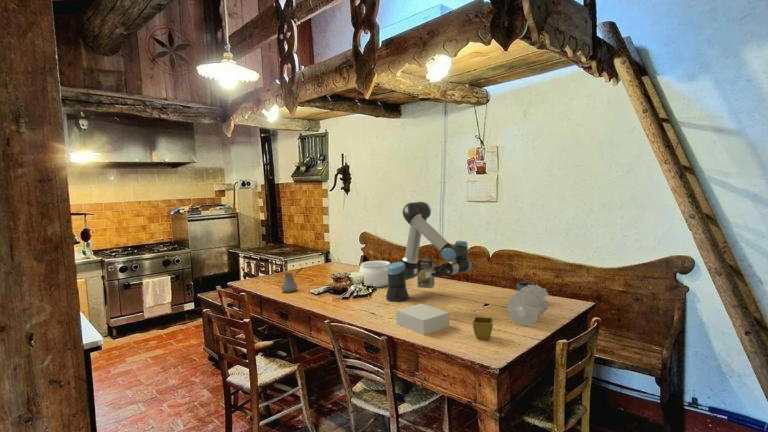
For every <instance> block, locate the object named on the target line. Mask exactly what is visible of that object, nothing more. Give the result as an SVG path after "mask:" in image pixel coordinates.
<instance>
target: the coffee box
mask: <svg viewBox="0 0 768 432" xmlns="http://www.w3.org/2000/svg"><path fill="white" fill-rule="evenodd" d="M434 266H435V259H432V258H419V259H418V261H417V271H418V276H417V288H419V289H420V288H423V289H433V288H434V287H435V276H433V277H427V278H426V273H427V272H433V271H434Z"/></svg>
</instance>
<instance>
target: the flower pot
mask: <svg viewBox="0 0 768 432" xmlns="http://www.w3.org/2000/svg"><path fill="white" fill-rule="evenodd" d="M493 326H494V318H493V317H486V316H485V317H483V316H474V318H473V320H472V329H473V333H474V335H475V337H476V339H477V340H483V341H490V340H489V339H490V338H491V335H492V331H493Z"/></svg>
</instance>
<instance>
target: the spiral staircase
mask: <svg viewBox="0 0 768 432" xmlns="http://www.w3.org/2000/svg"><path fill="white" fill-rule="evenodd" d="M547 296H549V293H548V291H547V289H546V288H543V287H541V286H539V285H538V284H537V283H536V284H535V285H534V286H533V285H528V287H524V288H521V291H518V292H517V291H515V292H514V294H512V295H510V296H509V297H510V298H509V300H508V301H507V302H506V305H507V307H506V314H507V316H508V319H509V318H510V319H511V320H512V321H513V323H514V324H515V325H520V326H522V327H524V328H525V327H526V326H534V323H536V322H537V321H538V320H539V319H540V318H541V319H542V316H544V313H546V311H547V310H549V308H548V303H549V300H547V299H544V298H546V297H547Z"/></svg>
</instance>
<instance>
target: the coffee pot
mask: <svg viewBox="0 0 768 432" xmlns="http://www.w3.org/2000/svg"><path fill="white" fill-rule="evenodd" d="M302 270H304V267H301V268H300V269H298V270H297V271H296V272H295V273H293V272H291V273H290V272H289V273H284V274H283V275H284V281H283V282H282V285H281V290H282V292H284V291H285V292H284V293H292V292H291V291H294V292H295V291H296V290H297V289H298V285H297V283H296V280H295V279H294V277H295V276H296V275H297V274H299V273H300V272H301V271H302Z"/></svg>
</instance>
